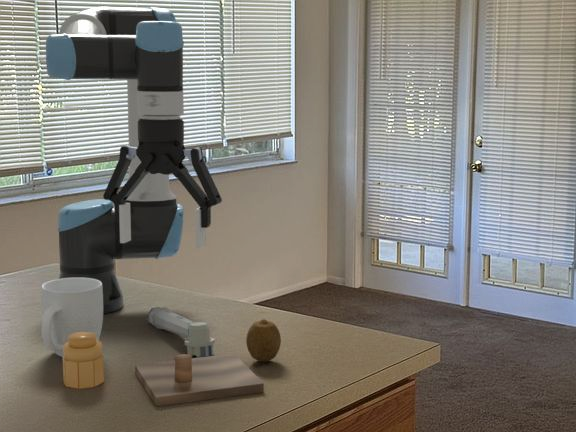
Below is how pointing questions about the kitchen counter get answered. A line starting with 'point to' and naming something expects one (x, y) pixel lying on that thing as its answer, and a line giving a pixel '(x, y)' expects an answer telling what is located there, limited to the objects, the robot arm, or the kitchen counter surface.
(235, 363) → the post board
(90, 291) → the mug
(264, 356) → the fruit
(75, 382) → the acorn cap nut
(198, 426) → the kitchen counter surface
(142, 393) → the kitchen counter surface
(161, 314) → the electric scrub brush
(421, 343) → the kitchen counter surface
